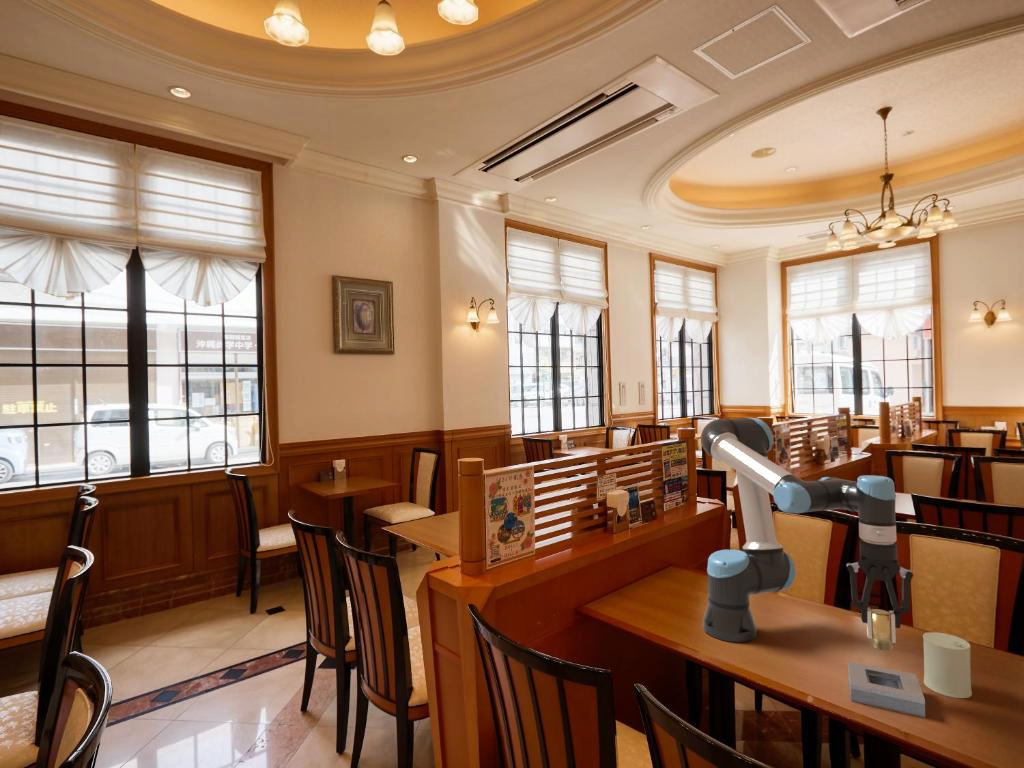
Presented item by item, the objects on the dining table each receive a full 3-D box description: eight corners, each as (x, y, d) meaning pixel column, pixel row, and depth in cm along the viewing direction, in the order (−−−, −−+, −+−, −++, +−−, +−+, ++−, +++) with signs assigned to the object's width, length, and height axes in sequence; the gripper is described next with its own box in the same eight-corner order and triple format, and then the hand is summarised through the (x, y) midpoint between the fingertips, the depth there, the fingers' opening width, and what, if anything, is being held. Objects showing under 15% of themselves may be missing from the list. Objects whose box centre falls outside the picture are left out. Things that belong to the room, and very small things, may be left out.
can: (957, 702, 126) (956, 650, 126) (915, 682, 135) (914, 634, 135) (980, 692, 130) (979, 642, 130) (937, 674, 138) (936, 627, 138)
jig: (851, 701, 127) (850, 684, 127) (848, 676, 138) (847, 661, 138) (925, 717, 121) (924, 699, 121) (916, 690, 131) (915, 674, 131)
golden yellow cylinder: (871, 648, 130) (870, 614, 130) (869, 640, 133) (868, 607, 134) (894, 651, 127) (892, 617, 128) (891, 644, 131) (889, 610, 132)
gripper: (837, 540, 132) (840, 637, 131) (924, 548, 124) (928, 652, 123) (835, 533, 138) (839, 626, 138) (918, 540, 130) (922, 639, 130)
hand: (881, 638), depth 131 cm, fingers closed on golden yellow cylinder, 4 cm apart
